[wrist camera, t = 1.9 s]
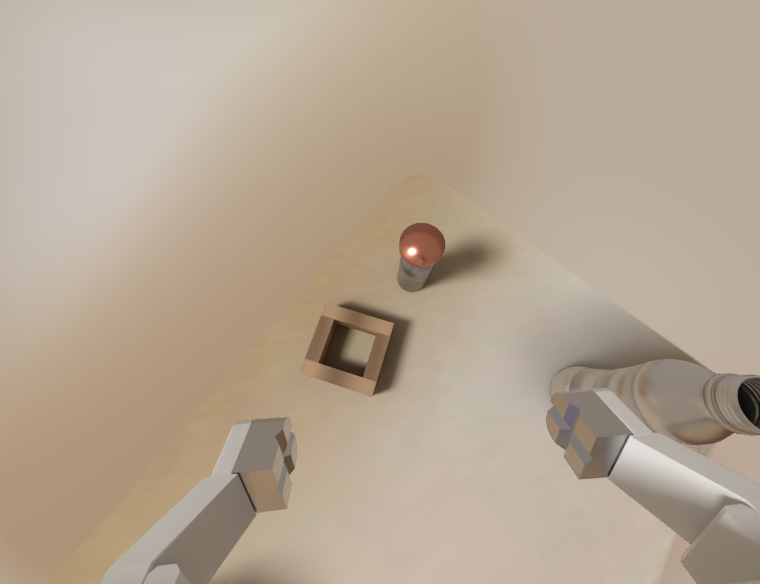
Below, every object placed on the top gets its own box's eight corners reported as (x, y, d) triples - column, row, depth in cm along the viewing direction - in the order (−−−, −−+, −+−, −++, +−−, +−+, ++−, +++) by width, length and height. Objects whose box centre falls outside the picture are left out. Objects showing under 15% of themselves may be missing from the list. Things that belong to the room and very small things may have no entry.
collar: (393, 327, 40) (394, 323, 37) (372, 395, 37) (372, 396, 34) (329, 308, 41) (326, 302, 38) (305, 373, 38) (299, 372, 35)
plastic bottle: (583, 434, 36) (813, 491, 17) (533, 399, 37) (695, 418, 18) (604, 388, 38) (837, 393, 18) (555, 356, 39) (726, 331, 20)
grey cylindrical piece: (432, 267, 42) (449, 229, 32) (423, 298, 41) (438, 269, 31) (400, 258, 43) (406, 218, 32) (390, 288, 41) (394, 257, 31)
